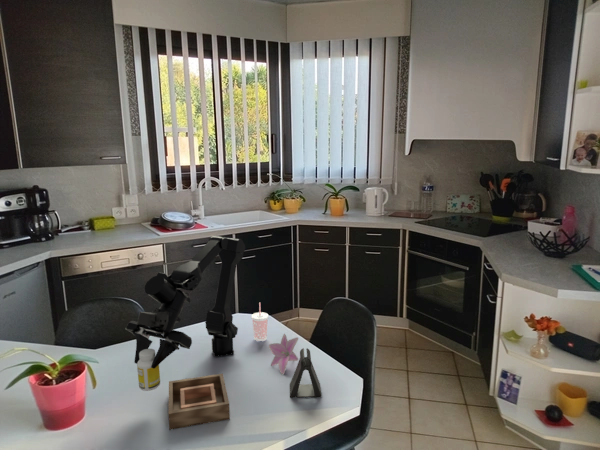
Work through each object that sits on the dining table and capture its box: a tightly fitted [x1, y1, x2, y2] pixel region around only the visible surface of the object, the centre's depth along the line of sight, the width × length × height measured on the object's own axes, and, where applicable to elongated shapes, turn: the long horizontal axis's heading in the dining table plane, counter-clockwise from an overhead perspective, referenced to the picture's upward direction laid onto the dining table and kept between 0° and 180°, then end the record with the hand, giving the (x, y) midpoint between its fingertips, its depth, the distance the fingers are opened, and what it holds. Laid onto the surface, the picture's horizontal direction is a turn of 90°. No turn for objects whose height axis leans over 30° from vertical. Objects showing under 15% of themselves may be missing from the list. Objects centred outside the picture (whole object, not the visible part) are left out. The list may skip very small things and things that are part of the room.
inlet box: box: [167, 373, 231, 431], centre depth 115 cm, size 15×15×4 cm
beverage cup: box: [251, 302, 269, 342], centre depth 154 cm, size 6×6×14 cm
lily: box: [268, 333, 299, 375], centre depth 137 cm, size 12×12×10 cm
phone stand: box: [289, 347, 322, 399], centre depth 122 cm, size 9×6×12 cm, turn 91°
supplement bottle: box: [136, 348, 161, 392], centre depth 113 cm, size 5×5×10 cm
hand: (144, 365), depth 112 cm, fingers closed on supplement bottle, 5 cm apart
